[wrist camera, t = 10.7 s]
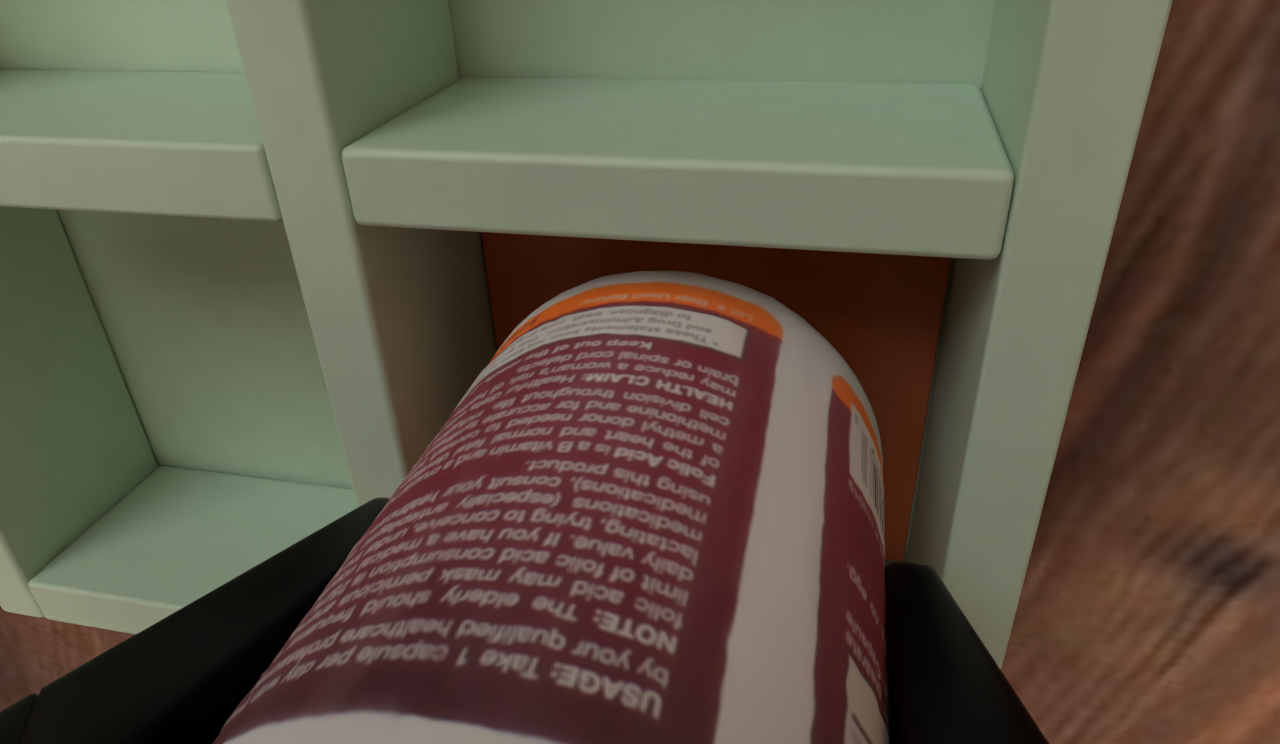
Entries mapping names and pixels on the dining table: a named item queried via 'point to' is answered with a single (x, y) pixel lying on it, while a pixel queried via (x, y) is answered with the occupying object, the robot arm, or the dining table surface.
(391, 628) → the pill bottle
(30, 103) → the divided tray
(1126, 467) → the dining table surface
